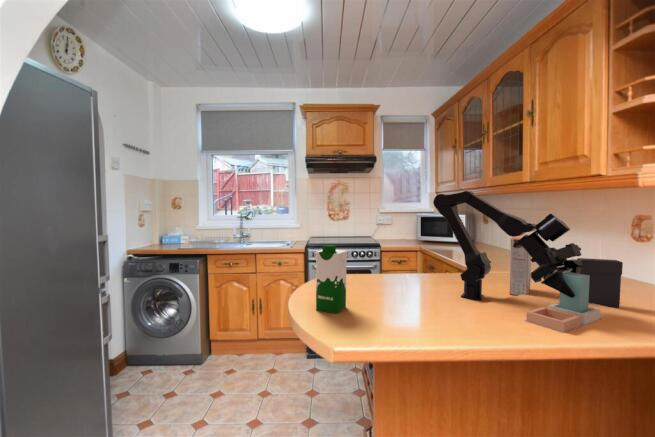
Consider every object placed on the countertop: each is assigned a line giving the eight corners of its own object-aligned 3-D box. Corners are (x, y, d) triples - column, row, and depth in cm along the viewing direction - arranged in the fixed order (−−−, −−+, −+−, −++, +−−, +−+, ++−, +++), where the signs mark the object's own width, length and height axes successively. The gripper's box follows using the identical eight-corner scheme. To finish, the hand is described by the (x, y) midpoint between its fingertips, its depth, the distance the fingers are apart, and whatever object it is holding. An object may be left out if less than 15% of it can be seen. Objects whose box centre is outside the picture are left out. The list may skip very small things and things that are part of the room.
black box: (613, 304, 107) (615, 259, 106) (620, 308, 103) (623, 261, 102) (573, 301, 110) (575, 257, 109) (579, 304, 106) (581, 259, 105)
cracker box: (512, 286, 129) (514, 234, 128) (530, 289, 125) (532, 235, 124) (508, 294, 118) (510, 237, 117) (527, 297, 114) (529, 238, 113)
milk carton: (312, 310, 98) (312, 245, 97) (324, 302, 106) (325, 242, 105) (338, 315, 94) (339, 247, 94) (349, 306, 103) (350, 243, 102)
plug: (558, 315, 93) (560, 273, 92) (567, 312, 95) (569, 272, 95) (579, 320, 89) (581, 277, 88) (587, 317, 91) (589, 275, 91)
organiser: (523, 324, 88) (524, 311, 88) (562, 312, 99) (563, 300, 99) (563, 337, 80) (564, 323, 80) (601, 322, 90) (602, 309, 90)
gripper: (543, 235, 90) (589, 283, 81) (576, 233, 99) (620, 275, 90) (514, 259, 97) (553, 305, 88) (547, 254, 106) (585, 296, 97)
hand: (579, 295), depth 91 cm, fingers open, 7 cm apart
